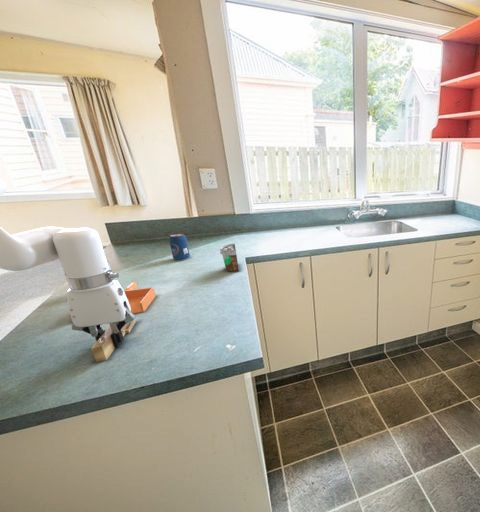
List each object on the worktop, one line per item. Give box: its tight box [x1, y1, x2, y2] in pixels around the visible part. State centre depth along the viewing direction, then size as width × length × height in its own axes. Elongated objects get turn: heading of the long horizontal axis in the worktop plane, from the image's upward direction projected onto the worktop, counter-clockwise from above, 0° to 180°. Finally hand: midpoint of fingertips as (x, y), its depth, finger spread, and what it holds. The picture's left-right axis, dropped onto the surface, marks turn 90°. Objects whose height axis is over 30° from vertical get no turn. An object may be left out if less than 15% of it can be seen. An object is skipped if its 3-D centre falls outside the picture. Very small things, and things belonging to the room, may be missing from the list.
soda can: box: [168, 233, 191, 262], centre depth 142 cm, size 7×7×12 cm
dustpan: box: [123, 281, 156, 315], centre depth 100 cm, size 22×17×3 cm
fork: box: [91, 319, 137, 363], centre depth 78 cm, size 4×18×4 cm, turn 22°
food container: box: [219, 243, 240, 273], centre depth 129 cm, size 12×6×10 cm, turn 27°
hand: (112, 345), depth 76 cm, fingers closed on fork, 2 cm apart
